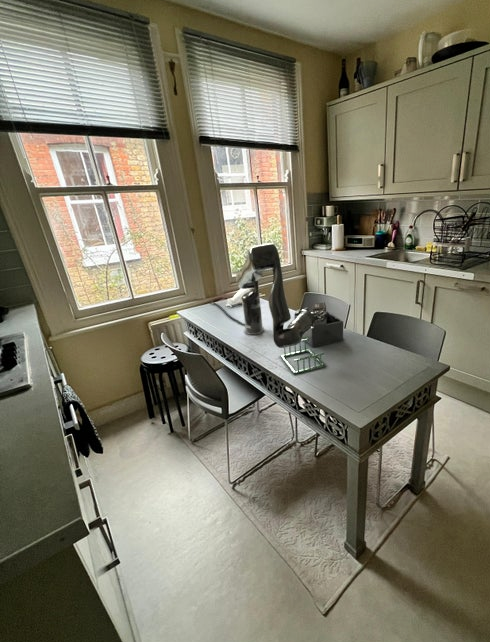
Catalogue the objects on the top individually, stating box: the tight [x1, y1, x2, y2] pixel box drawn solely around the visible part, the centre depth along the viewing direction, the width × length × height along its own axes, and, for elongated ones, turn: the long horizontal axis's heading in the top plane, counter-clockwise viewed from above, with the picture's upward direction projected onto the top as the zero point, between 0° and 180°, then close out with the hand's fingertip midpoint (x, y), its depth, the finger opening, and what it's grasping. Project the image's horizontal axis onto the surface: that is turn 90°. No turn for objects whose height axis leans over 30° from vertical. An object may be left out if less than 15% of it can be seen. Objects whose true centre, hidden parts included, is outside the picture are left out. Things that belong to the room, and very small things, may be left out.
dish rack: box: [280, 338, 326, 375], centre depth 136 cm, size 17×14×6 cm
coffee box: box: [312, 301, 327, 327], centre depth 155 cm, size 9×6×16 cm
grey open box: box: [302, 310, 344, 348], centre depth 157 cm, size 17×17×10 cm
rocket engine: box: [225, 288, 251, 308], centre depth 213 cm, size 12×12×18 cm
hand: (316, 310), depth 148 cm, fingers open, 8 cm apart
